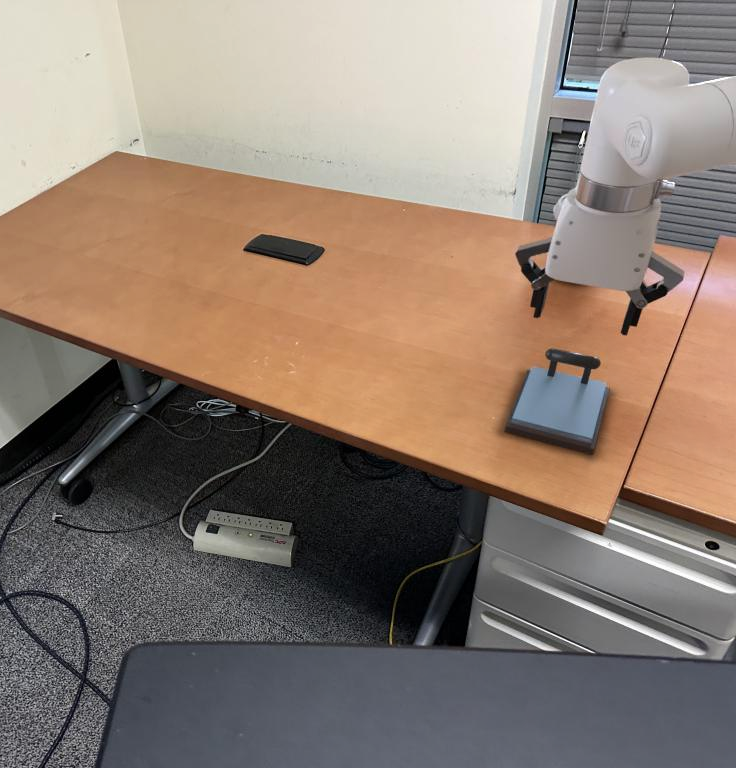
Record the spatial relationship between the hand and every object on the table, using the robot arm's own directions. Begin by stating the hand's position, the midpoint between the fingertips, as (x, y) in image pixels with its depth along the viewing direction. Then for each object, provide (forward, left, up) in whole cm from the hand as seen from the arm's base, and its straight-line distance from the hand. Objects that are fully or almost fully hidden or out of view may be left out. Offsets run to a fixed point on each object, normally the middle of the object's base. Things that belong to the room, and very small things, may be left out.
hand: (580, 320), depth 83 cm
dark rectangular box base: (0, +5, -11) cm, 12 cm away
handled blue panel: (0, +5, -10) cm, 11 cm away
